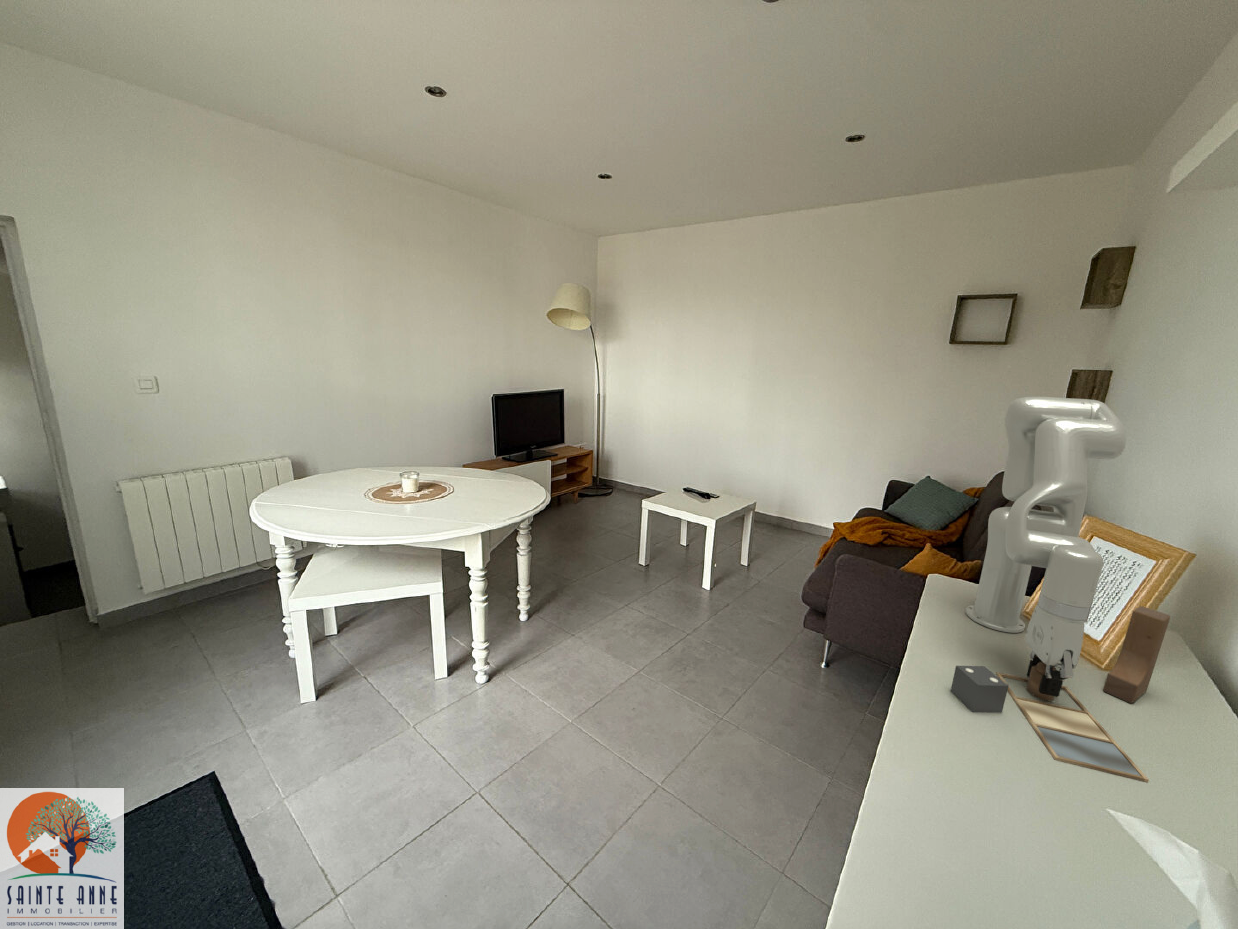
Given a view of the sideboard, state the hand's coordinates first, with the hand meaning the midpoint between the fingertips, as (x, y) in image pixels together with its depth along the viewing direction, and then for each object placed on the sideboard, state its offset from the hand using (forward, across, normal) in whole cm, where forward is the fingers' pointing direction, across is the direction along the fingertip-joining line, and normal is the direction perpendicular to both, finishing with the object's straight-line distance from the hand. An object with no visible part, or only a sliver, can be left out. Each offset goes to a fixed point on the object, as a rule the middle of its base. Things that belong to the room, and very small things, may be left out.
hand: (1042, 685), depth 98 cm
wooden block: (+2, -8, +18) cm, 20 cm away
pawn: (+2, 0, 0) cm, 2 cm away
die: (+2, +8, -14) cm, 16 cm away
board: (+2, +8, 0) cm, 8 cm away
